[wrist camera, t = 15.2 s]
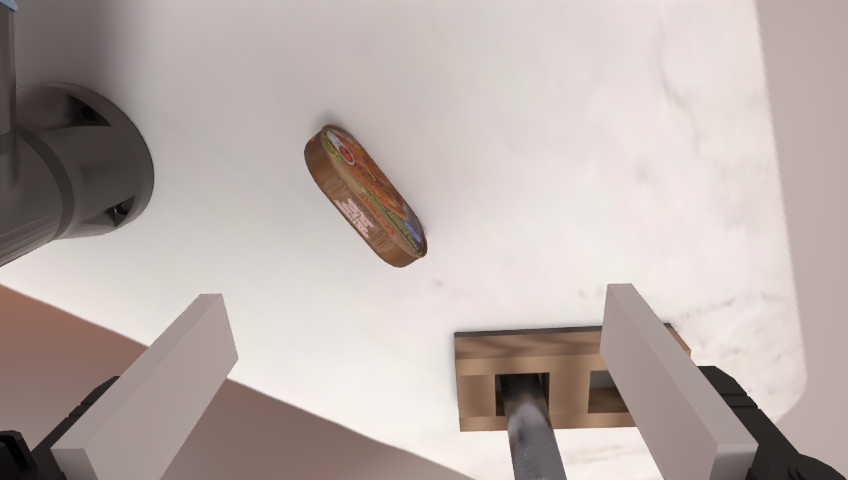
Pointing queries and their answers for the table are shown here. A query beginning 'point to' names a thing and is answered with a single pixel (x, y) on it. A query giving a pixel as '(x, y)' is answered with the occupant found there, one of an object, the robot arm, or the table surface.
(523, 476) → the pin
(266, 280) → the table surface
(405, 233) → the tin
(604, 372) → the bore block
